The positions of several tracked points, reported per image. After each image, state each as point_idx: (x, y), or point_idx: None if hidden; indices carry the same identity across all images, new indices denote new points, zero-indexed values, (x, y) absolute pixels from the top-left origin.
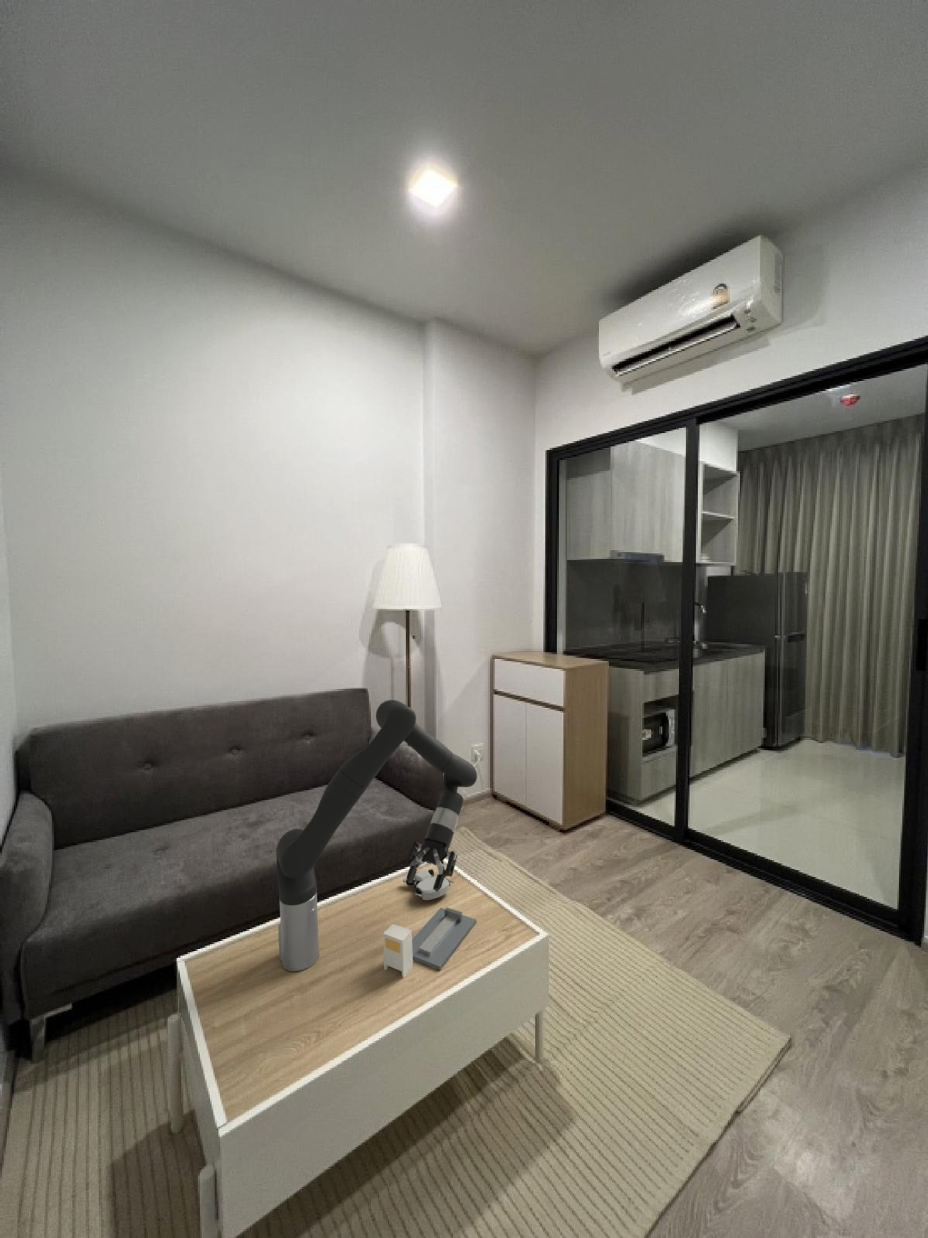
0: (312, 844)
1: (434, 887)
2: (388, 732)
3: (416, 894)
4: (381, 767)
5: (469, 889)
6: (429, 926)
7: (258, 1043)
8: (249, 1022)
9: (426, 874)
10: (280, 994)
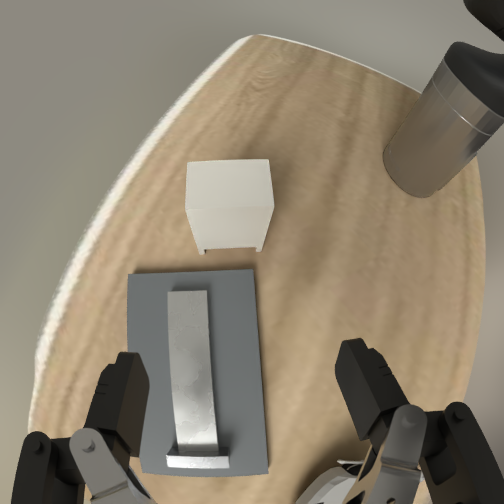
0: None
1: (124, 353)
2: None
3: (362, 461)
4: None
5: None
6: (245, 394)
7: (309, 67)
8: (346, 80)
9: None
10: (362, 112)
